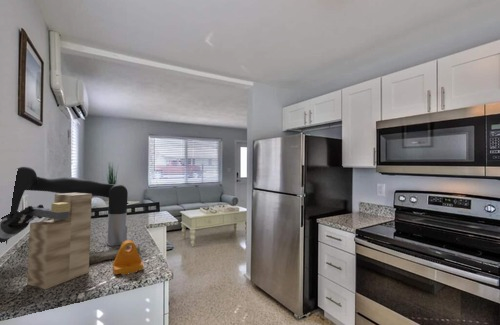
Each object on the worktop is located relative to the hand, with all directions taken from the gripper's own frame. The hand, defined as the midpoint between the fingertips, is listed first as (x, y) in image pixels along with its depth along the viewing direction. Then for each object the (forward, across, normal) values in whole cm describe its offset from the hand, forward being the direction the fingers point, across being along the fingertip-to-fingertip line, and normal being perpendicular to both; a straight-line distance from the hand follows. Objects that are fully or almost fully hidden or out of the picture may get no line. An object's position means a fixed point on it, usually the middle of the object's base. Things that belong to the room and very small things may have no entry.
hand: (36, 207), depth 97 cm
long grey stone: (-9, +24, +26) cm, 37 cm away
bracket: (+10, +20, +37) cm, 43 cm away
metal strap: (+3, 0, +5) cm, 6 cm away
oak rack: (-6, +4, +28) cm, 29 cm away
